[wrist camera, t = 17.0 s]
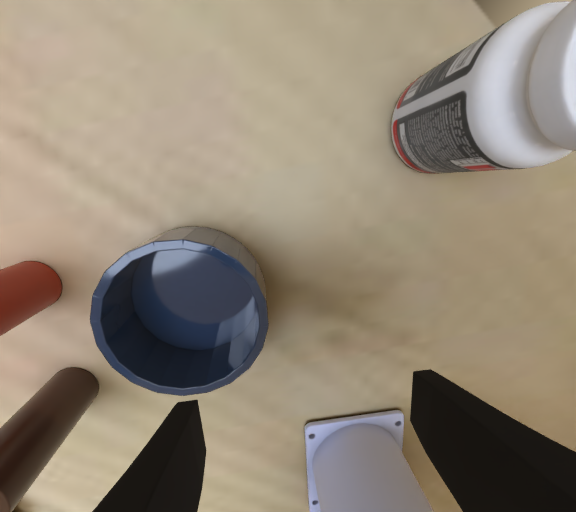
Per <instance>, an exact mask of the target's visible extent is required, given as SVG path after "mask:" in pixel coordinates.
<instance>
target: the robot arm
mask: <svg viewBox="0 0 576 512" xmlns="http://www.w3.org/2000/svg"><path fill="white" fill-rule="evenodd" d="M397 421H398V422H397ZM410 421H411V423H412V425H413V428H414V430H415V432H416V434H417V436H418V438H419V440H420V442H421V444H422V446H423V448H424V450H425V452H426V454H427V455H428V457H429V458H430V460H431V462H432V463H433V465H434V466H435V468H436V470H437V471H438V473H439V474H440V476H441V478H442V479H443V481H444V482H445V484H446V485H447V487H448V489H449V490H450V492H451V493H452V495H453V496H454V498H455V500H456V501H457V503H458V504H459V506H460V507H461V509H462V511H463V512H576V452H574V451H572V450H570V449H568V448H566V447H564V446H563V445H561V444H559V443H557V442H555V441H553V440H551V439H549V438H547V437H545V436H544V435H542V434H540V433H538V432H536V431H534V430H533V429H531V428H529V427H527V426H525V425H523V424H522V423H520V422H518V421H516V420H515V419H513V418H511V417H509V416H508V415H506V414H504V413H503V412H501V411H499V410H497V409H496V408H494V407H492V406H491V405H489V404H487V403H486V402H484V401H482V400H481V399H479V398H477V397H476V396H474V395H472V394H471V393H469V392H468V391H466V390H464V389H463V388H461V387H459V386H458V385H456V384H455V383H453V382H451V381H450V380H448V379H446V378H445V377H443V376H441V375H439V374H438V373H436V372H434V371H432V370H431V369H430V370H422V371H414V372H413V385H412V400H411V415H410ZM403 429H404V415H403V413H402V412H401V411H400V410H393V411H386V412H379V413H372V414H365V415H358V416H351V417H344V418H337V419H330V420H323V421H316V422H310V423H308V424H306V425H305V446H306V464H307V482H308V500H309V511H310V512H434V511H433V509H432V507H431V505H430V503H429V502H428V500H427V498H426V496H425V494H424V492H423V490H422V489H421V487H420V485H419V483H418V481H417V479H416V477H415V476H414V474H413V472H412V470H411V468H410V466H409V464H408V463H407V461H406V459H405V457H404V455H403V453H402V446H403ZM310 434H312V435H310ZM205 457H206V446H205V441H204V435H203V429H202V423H201V418H200V412H199V406H198V400H192V401H185V402H178V403H177V404H176V405H175V406H174V408H173V409H172V410H171V412H170V413H169V414H168V416H167V417H166V419H165V420H164V421H163V423H162V424H161V426H160V427H159V428H158V430H157V431H156V432H155V434H154V435H153V436H152V438H151V439H150V441H149V442H148V443H147V445H146V446H145V447H144V448H143V450H142V451H141V452H140V454H139V455H138V456H137V458H136V459H135V460H134V461H133V463H132V464H131V465H130V467H129V468H128V469H127V470H126V472H125V473H124V474H123V476H122V477H121V478H120V479H119V480H118V482H117V483H116V484H115V485H114V486H113V488H112V489H111V490H110V491H109V492H108V494H107V495H106V496H105V497H104V498H103V500H102V501H101V502H100V503H99V504H98V506H97V507H96V508H95V509H94V510H93V512H197V510H198V505H199V501H200V496H201V491H202V484H203V476H204V467H205Z"/></svg>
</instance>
